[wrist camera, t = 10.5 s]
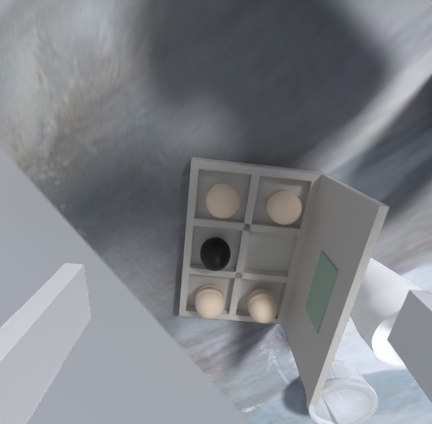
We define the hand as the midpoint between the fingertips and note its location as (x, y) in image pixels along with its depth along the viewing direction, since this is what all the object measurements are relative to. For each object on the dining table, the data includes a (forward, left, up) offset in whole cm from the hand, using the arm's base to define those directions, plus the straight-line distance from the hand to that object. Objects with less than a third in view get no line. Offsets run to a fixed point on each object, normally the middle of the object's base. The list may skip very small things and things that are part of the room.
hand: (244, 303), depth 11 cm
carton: (+10, +4, -25) cm, 27 cm away
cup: (+13, +22, -25) cm, 35 cm away
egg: (+10, 0, -24) cm, 26 cm away
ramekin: (+35, +24, -25) cm, 49 cm away
